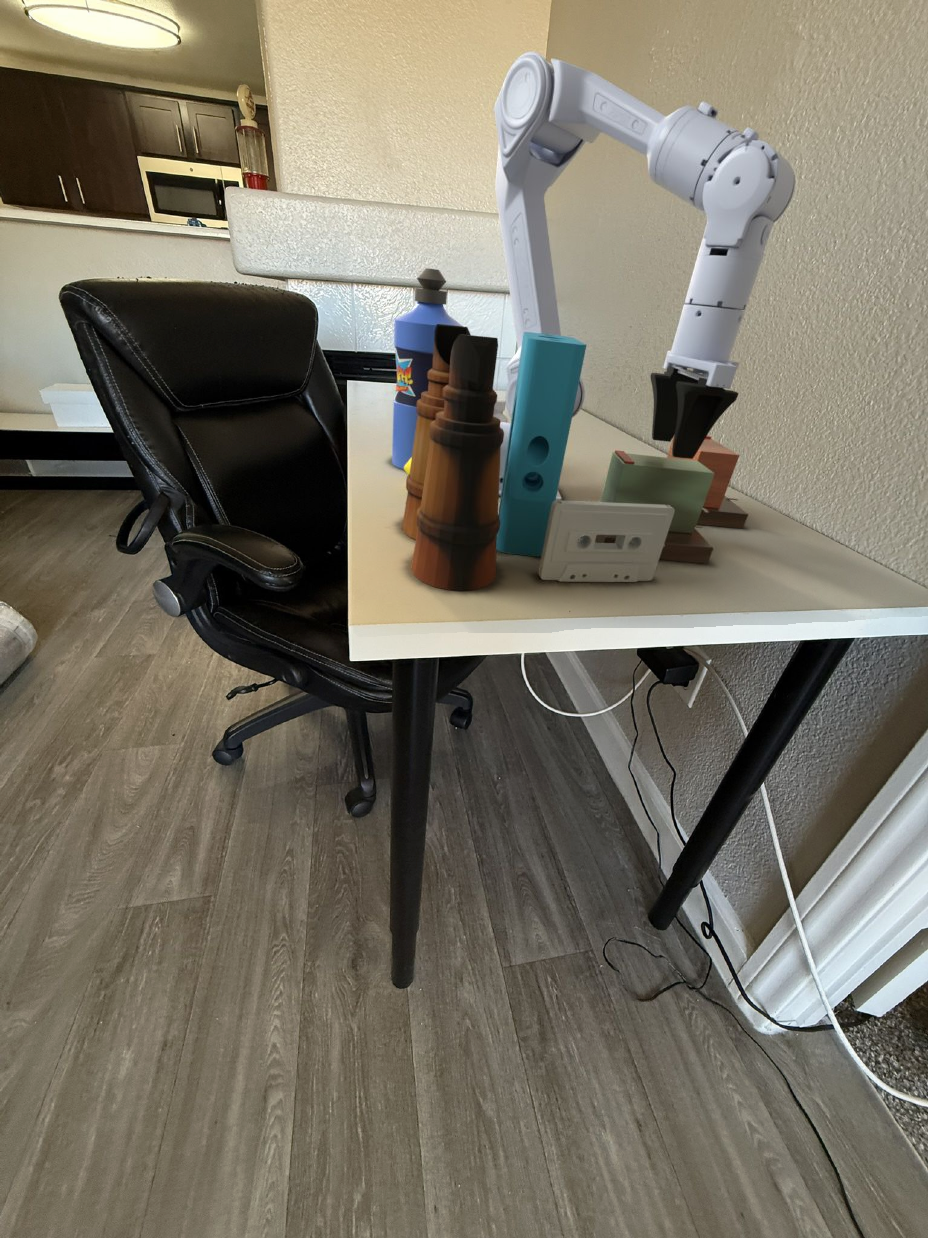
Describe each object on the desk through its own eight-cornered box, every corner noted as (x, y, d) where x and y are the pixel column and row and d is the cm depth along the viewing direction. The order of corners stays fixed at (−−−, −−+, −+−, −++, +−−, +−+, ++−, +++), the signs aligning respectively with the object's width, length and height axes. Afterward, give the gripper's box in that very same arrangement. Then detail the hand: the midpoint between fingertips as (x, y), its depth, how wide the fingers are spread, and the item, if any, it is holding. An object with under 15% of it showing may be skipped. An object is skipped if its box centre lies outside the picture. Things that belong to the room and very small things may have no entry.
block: (544, 564, 53) (588, 345, 43) (495, 558, 53) (527, 338, 43) (537, 522, 63) (571, 337, 53) (497, 517, 63) (523, 331, 53)
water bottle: (404, 474, 74) (412, 264, 61) (382, 456, 81) (385, 264, 68) (462, 471, 78) (481, 274, 65) (436, 454, 85) (448, 272, 72)
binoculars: (505, 590, 47) (544, 345, 37) (415, 591, 46) (430, 334, 35) (467, 516, 63) (486, 327, 52) (398, 514, 61) (404, 318, 50)
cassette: (541, 582, 50) (556, 505, 46) (535, 573, 51) (549, 498, 47) (655, 583, 52) (679, 509, 48) (646, 574, 53) (669, 502, 49)
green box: (678, 518, 64) (698, 458, 60) (693, 533, 59) (715, 470, 56) (598, 510, 63) (613, 449, 59) (607, 525, 59) (624, 461, 55)
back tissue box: (719, 508, 69) (740, 453, 65) (682, 504, 68) (701, 448, 65) (692, 485, 77) (709, 435, 73) (659, 481, 77) (674, 431, 73)
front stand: (721, 569, 57) (728, 551, 55) (593, 557, 56) (597, 538, 55) (677, 521, 69) (682, 506, 67) (571, 511, 68) (575, 495, 67)
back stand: (754, 532, 68) (761, 516, 67) (648, 521, 67) (653, 506, 66) (712, 497, 80) (717, 483, 79) (621, 488, 80) (625, 473, 78)
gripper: (790, 314, 45) (732, 470, 52) (724, 310, 57) (684, 437, 65) (711, 304, 45) (663, 462, 52) (661, 303, 57) (628, 431, 64)
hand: (671, 448), depth 58 cm, fingers open, 7 cm apart
